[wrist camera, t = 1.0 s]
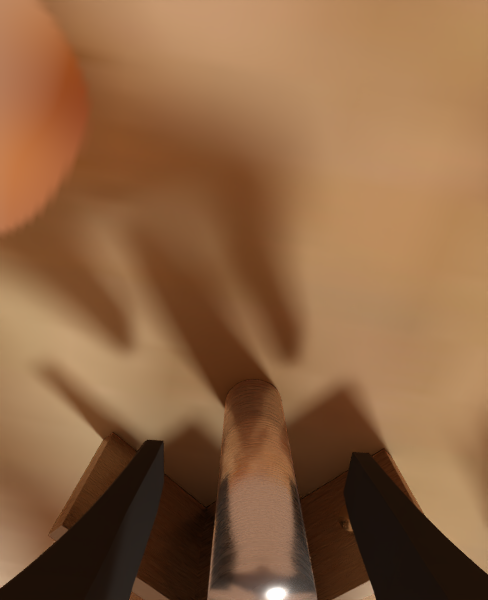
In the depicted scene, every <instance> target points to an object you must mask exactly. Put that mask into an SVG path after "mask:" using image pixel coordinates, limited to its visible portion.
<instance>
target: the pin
mask: <svg viewBox="0 0 488 600" xmlns="http://www.w3.org/2000/svg"><path fill="white" fill-rule="evenodd" d="M207 600H317V594H316V588H315V582H314V577H313V571H312V566H311V560H310V555H309V549H308V544H307V538H306V533H305V527H304V522H303V516H302V511H301V505H300V500H299V494H298V489H297V483H296V478H295V472H294V467H293V461H292V456H291V450H290V445H289V439H288V433H287V428H286V422H285V417H284V411H283V406H282V400H281V396H280V394H279V392H278V391H277V389H276V388H275V387H274V386H272V385H271V384H269V383H268V382H265V381H262V380H256V379H252V380H245V381H242V382H240V383H238V384H236V385H235V386H234V387H233V388H232V389H231V390H230V391H229V393H228V395H227V397H226V402H225V413H224V424H223V434H222V445H221V456H220V467H219V478H218V489H217V500H216V511H215V522H214V533H213V544H212V555H211V566H210V576H209V587H208V598H207Z"/></svg>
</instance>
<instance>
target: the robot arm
mask: <svg viewBox="0 0 488 600" xmlns="http://www.w3.org/2000/svg"><path fill="white" fill-rule="evenodd" d="M163 484H164V443H163V441H158V440H146V441H145V442H144V443H143V445H142V446H141V448H140V449H139V450H138V452H137V453H136V454H135V456H134V457H133V458H132V460H131V461H130V462H129V463H128V465H127V466H126V467H125V468H124V470H123V471H122V472H121V473H120V475H119V476H118V477H117V478H116V479H115V480H114V482H113V483H112V484H111V485H110V486H109V488H108V489H107V490H106V491H105V492H104V493H103V494H102V495H101V497H100V498H99V499H98V500H97V501H96V502H95V503H94V504H93V505H92V506H91V507H90V508H89V510H88V511H87V512H86V513H85V514H84V515H83V516H82V517H81V518H80V519H79V520H78V521H77V522H76V523H75V524H74V525H73V526H72V527H71V528H70V529H69V530H68V531H67V532H66V533H65V534H64V535H62V536H61V537H60V538H59V539H58V540H57V541H56V542H55V543H54V544H53V545H52V546H50V547H49V548H48V549H47V550H46V551H45V552H44V553H43V554H41V555H40V556H39V557H38V558H37V559H36V560H35V561H34V562H32V563H31V564H30V565H29V566H28V567H26V568H25V569H24V570H23V571H22V572H20V573H19V574H18V575H17V576H15V577H14V578H13V579H12V580H10V581H9V582H8V583H7V584H5V585H4V586H3V587H1V588H0V600H129V598H130V595H131V591H132V588H133V584H134V581H135V578H136V575H137V572H138V569H139V566H140V563H141V560H142V557H143V554H144V551H145V548H146V545H147V542H148V539H149V536H150V533H151V530H152V527H153V524H154V521H155V518H156V514H157V511H158V507H159V502H160V498H161V493H162V489H163ZM343 494H344V498H345V503H346V508H347V512H348V516H349V520H350V524H351V527H352V530H353V533H354V536H355V539H356V542H357V545H358V548H359V551H360V554H361V557H362V559H363V562H364V565H365V568H366V571H367V574H368V577H369V580H370V583H371V585H372V588H373V591H374V594H375V597H376V600H488V574H487V573H485V572H484V571H483V570H482V569H481V568H480V567H478V566H477V565H476V564H475V563H474V562H473V561H472V560H471V559H469V558H468V557H467V556H466V555H465V554H464V553H463V552H462V551H461V550H459V549H458V548H457V547H456V546H455V545H454V544H453V543H452V542H451V541H450V540H449V539H448V538H447V537H446V536H445V535H443V534H442V533H441V532H440V531H439V530H438V529H437V528H436V527H435V526H434V525H433V524H432V523H431V522H430V521H429V520H428V519H427V518H426V516H425V515H424V514H423V513H422V512H421V511H420V510H419V509H418V508H417V507H416V506H415V505H414V504H413V503H412V502H411V501H410V499H409V498H408V497H407V496H406V495H405V494H404V493H403V492H402V491H401V490H400V488H399V487H398V486H397V485H396V484H395V483H394V482H393V481H392V479H391V478H390V477H389V476H388V475H387V474H386V473H385V471H384V470H383V469H382V468H381V467H380V466H379V465H378V463H377V462H376V461H375V460H374V459H373V458H372V457H371V455H370V454H369V453H357V452H353V453H352V457H351V462H350V466H349V470H348V474H347V479H346V483H345V487H344V491H343Z"/></svg>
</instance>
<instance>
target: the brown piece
mask: <svg viewBox="0 0 488 600" xmlns="http://www.w3.org/2000/svg"><path fill="white" fill-rule="evenodd" d="M136 453H137V451H136V450H134V449H133V448H132V447H131V446H129V445H128V444H127V443H126V442H125V441H123V440H122V439H121V438H120V437H118V436H117V435H116V434H115V433H114V432H113V433H112V434H110V435H109V436H108V437H107V438H105V439H104V440H103V441H102V443H101V445H100V446H99V448H98V450H97V451H96V453H95V455H94V457H93V458H92V460H91V462H90V464H89V465H88V467H87V469H86V471H85V472H84V474H83V476H82V477H81V479H80V481H79V483H78V484H77V486H76V488H75V490H74V491H73V493H72V495H71V496H70V498H69V500H68V502H67V503H66V505H65V507H64V509H63V510H62V512H61V514H60V515H59V517H58V519H57V521H56V522H55V524H54V526H53V528H52V529H51V531H50V533H49V534H48V536H50V537H51V538H53V539H54V540H56V541H57V540H58V539H59V538H60V537H61V536H62V535H64V534H65V533H66V532H67V531H68V530H69V529H70V528H71V527H72V526H73V525H74V524H75V523H76V522H77V521H78V520H79V519H80V518H81V517H82V516H83V515H84V514H85V513H86V512H87V511H88V510H89V508H90V507H91V506H92V505H93V504H94V503H95V502H96V501H97V500H98V499H99V498H100V497H101V495H102V494H103V493H104V492H105V491H106V490H107V489H108V488H109V486H110V485H111V484H112V483H113V482H114V480H115V479H116V478H117V477H118V476H119V475H120V473H121V472H122V471H123V470H124V468H125V467H126V466H127V465H128V463H129V462H130V461H131V460H132V458H133V457H134V456H135V454H136ZM371 457H372V458H373V459H374V460H375V461H376V462H377V463H378V465H379V466H380V467H381V468H382V469H383V470H384V471H385V473H386V474H387V475H388V476H389V477H390V478H391V479H392V481H393V482H394V483H395V484H396V485H397V486H398V487H399V488H400V490H401V491H402V492H403V493H404V494H405V495H406V496H407V497H408V498H409V499H410V501H411V502H412V503H413V504H414V505H415V506H416V507H417V508H418V509H419V510H420V511H421V512H422V510H421V508H420V506H419V505H418V503H417V501H416V499H415V497H414V496H413V494H412V492H411V490H410V489H409V487H408V485H407V483H406V481H405V480H404V478H403V476H402V474H401V473H400V471H399V469H398V467H397V465H396V464H395V462H394V460H393V458H392V457H391V456H390V455H389V454H388V453H387V452H386V450H385V449H383V450H381V451H379V452H378V453H376V454H375V455H373V456H371ZM347 474H348V471H347V472H345V473H343V474H342V475H340V476H339V477H337V478H335V479H334V480H332V481H330V482H329V483H327V484H325V485H324V486H322V487H321V488H319V489H317V490H316V491H314V492H312V493H311V494H309V495H307V496H306V497H304V498H303V499H301V500H300V505H301V511H302V516H303V522H304V527H305V533H306V538H307V544H308V549H309V555H310V560H311V566H312V571H313V577H314V582H315V588H316V594H317V600H363V599H365V598H367V597H369V596H371V595H373V594H374V591H373V588H372V585H371V583H370V580H369V577H368V574H367V571H366V568H365V565H364V562H363V559H362V557H361V554H360V551H359V548H358V545H357V542H356V539H355V536H354V533H353V530H352V527H351V524H350V520H349V516H348V512H347V508H346V503H345V498H344V494H343V491H344V487H345V483H346V479H347ZM215 511H216V502H214V503H213V504H211V505H210V506H208V507H207V508H205V507H204V506H203V505H201V504H200V503H199V502H198V501H196V500H195V499H194V498H193V497H192V496H190V495H189V494H188V493H187V492H185V491H184V490H183V489H182V488H181V487H179V486H178V485H177V484H176V483H175V482H173V481H172V480H171V479H170V478H168V477H167V476H166V475H165V474H164V484H163V489H162V493H161V498H160V502H159V507H158V511H157V514H156V518H155V521H154V524H153V527H152V530H151V533H150V536H149V539H148V542H147V545H146V548H145V551H144V554H143V557H142V560H141V563H140V566H139V569H138V572H137V575H136V578H135V581H134V584H133V588H132V592H133V593H135V594H136V595H138V596H139V597H141V598H142V599H144V600H207V598H208V587H209V576H210V566H211V555H212V544H213V533H214V522H215ZM422 513H423V512H422ZM423 514H424V513H423Z"/></svg>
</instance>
